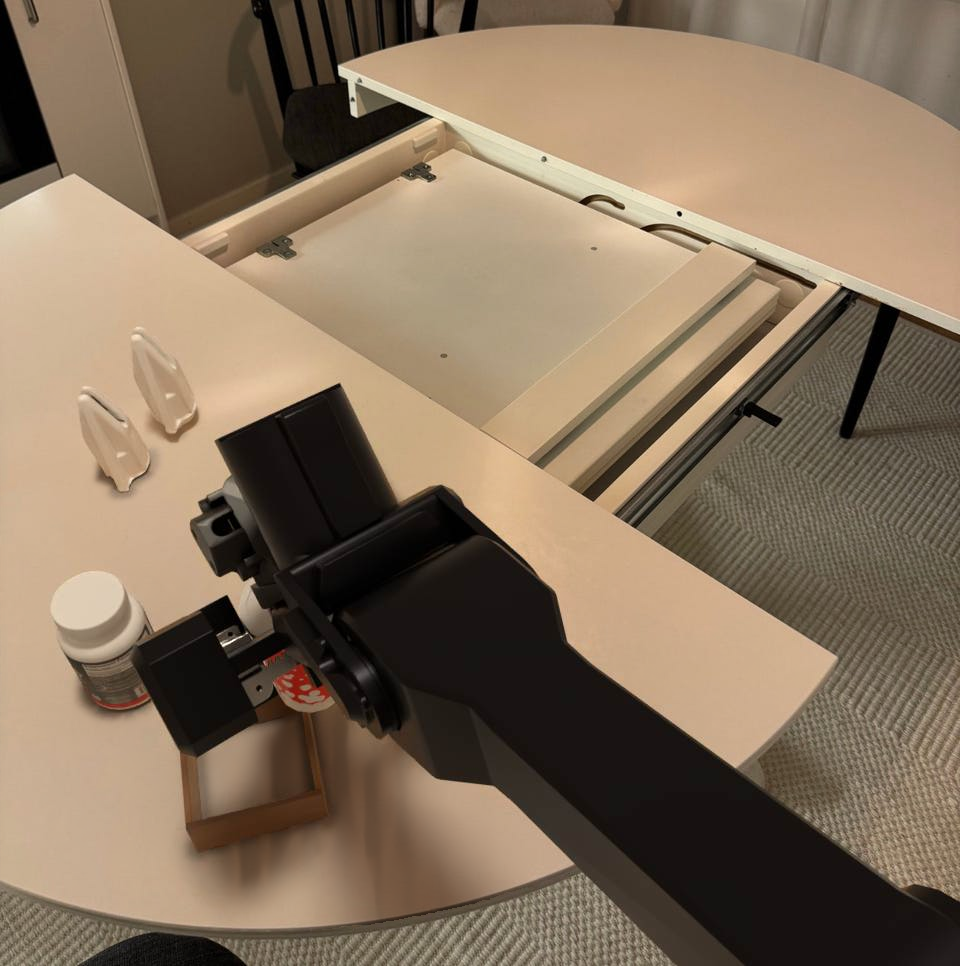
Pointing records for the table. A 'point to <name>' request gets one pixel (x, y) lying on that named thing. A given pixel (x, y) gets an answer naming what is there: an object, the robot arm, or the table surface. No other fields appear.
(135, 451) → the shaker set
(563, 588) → the table surface
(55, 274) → the table surface
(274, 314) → the table surface
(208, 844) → the square wooden frame
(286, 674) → the beverage cup
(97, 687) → the pill bottle
